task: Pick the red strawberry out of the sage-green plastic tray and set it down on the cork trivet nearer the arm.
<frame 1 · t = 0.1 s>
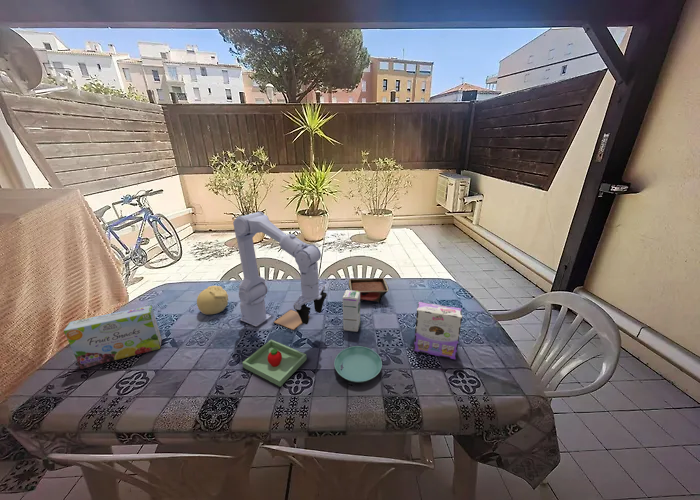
hand: (311, 317, 93), 10 cm above the table, tool pointing down, fingers open, 7 cm apart
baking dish: (367, 297, 126), on the table
snack box: (124, 354, 91), on the table
saucer: (358, 369, 85), on the table
trivet: (292, 320, 109), on the table
sculpture: (215, 310, 116), on the table
syrup box: (351, 327, 105), on the table
strawberry: (275, 363, 86), resting on tray
tray: (275, 364, 87), on the table
candy box: (434, 350, 93), on the table
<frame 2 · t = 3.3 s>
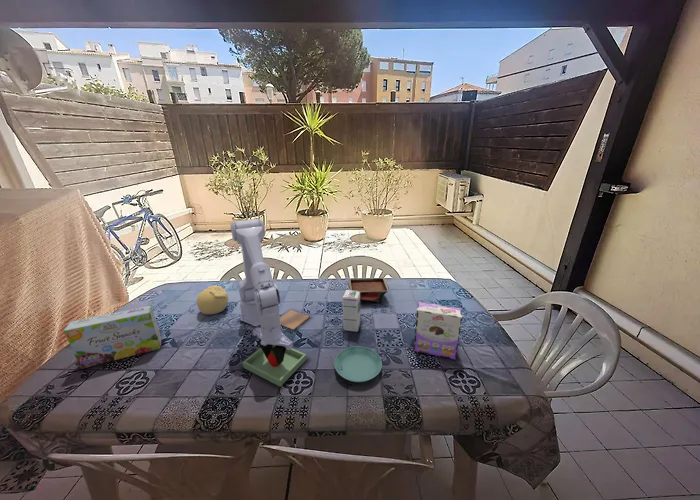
hand: (275, 359, 86), 2 cm above the table, tool pointing down, fingers closed on strawberry, 4 cm apart
strawberry: (275, 363, 86), point 1 cm above the table, touching gripper, tray
everything else where it was.
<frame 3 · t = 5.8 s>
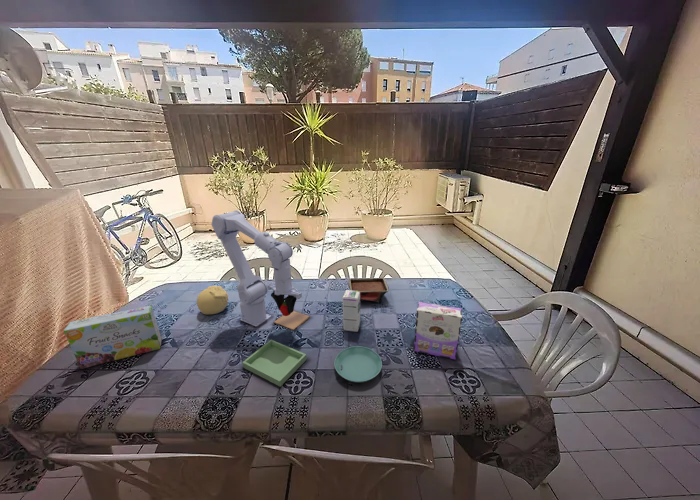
hand: (286, 310, 100), 9 cm above the table, tool pointing down, fingers closed on strawberry, 4 cm apart
strawberry: (286, 313, 100), point 7 cm above the table, touching gripper
everything else where it was.
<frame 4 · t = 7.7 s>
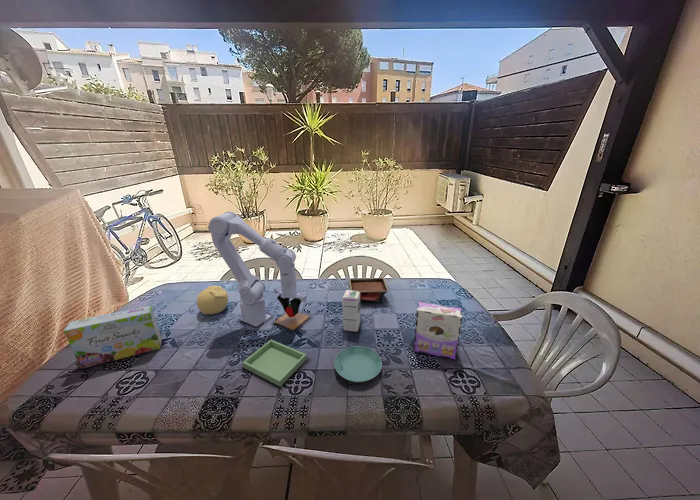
hand: (291, 312, 107), 4 cm above the table, tool pointing down, fingers closed on strawberry, 4 cm apart
strawberry: (291, 315, 108), point 2 cm above the table, touching gripper
everything else where it was.
when the fingers open (2 cm above the table, at t = 8.8 s): strawberry stays where it is, resting on trivet.
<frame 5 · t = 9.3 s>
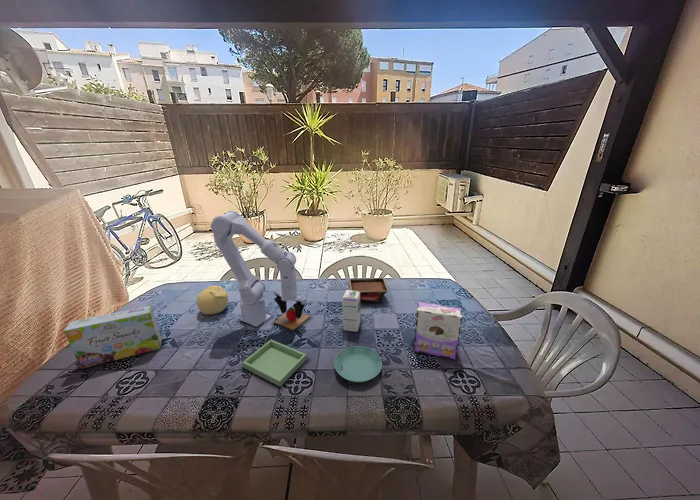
hand: (291, 314, 108), 3 cm above the table, tool pointing down, fingers open, 7 cm apart
strawberry: (292, 318, 108), point 1 cm above the table, touching trivet
everything else where it was.
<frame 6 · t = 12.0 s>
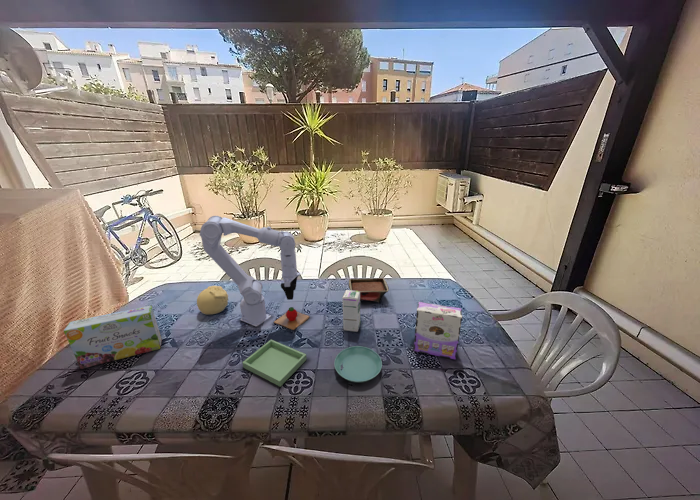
hand: (291, 294, 110), 9 cm above the table, tool pointing down, fingers open, 7 cm apart
nothing on the table moved.
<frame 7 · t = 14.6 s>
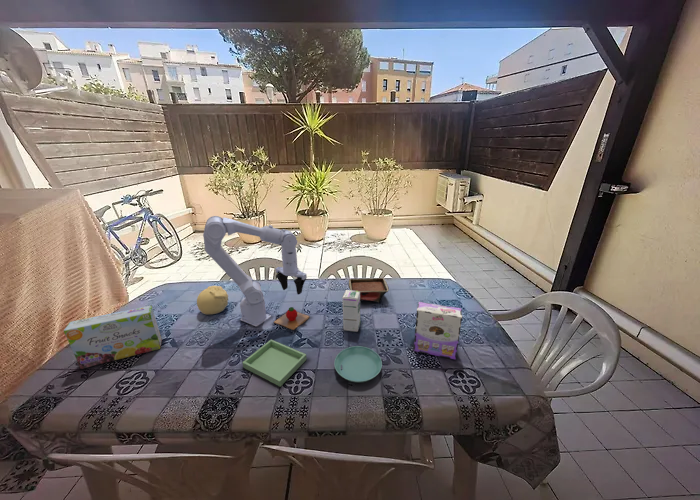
hand: (292, 291, 112), 9 cm above the table, tool pointing down, fingers open, 7 cm apart
nothing on the table moved.
at the end: strawberry inside the target area on the trivet (0.1 cm from its centre), point 0.8 cm above the trivet's base; strawberry touching trivet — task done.
